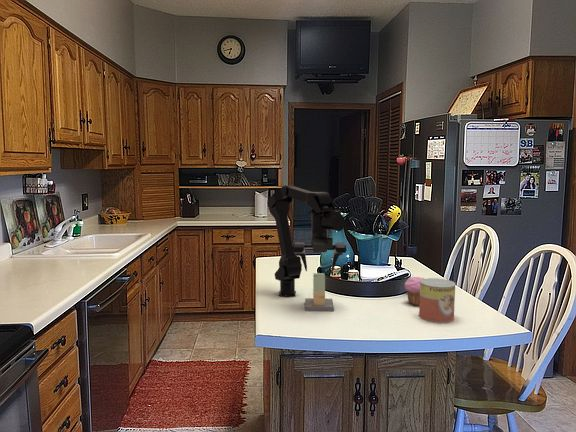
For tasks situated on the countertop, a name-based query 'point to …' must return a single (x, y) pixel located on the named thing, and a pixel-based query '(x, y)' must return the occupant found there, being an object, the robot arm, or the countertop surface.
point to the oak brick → (318, 297)
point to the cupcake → (413, 289)
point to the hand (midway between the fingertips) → (319, 271)
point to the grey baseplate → (311, 307)
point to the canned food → (437, 300)
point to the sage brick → (319, 281)
